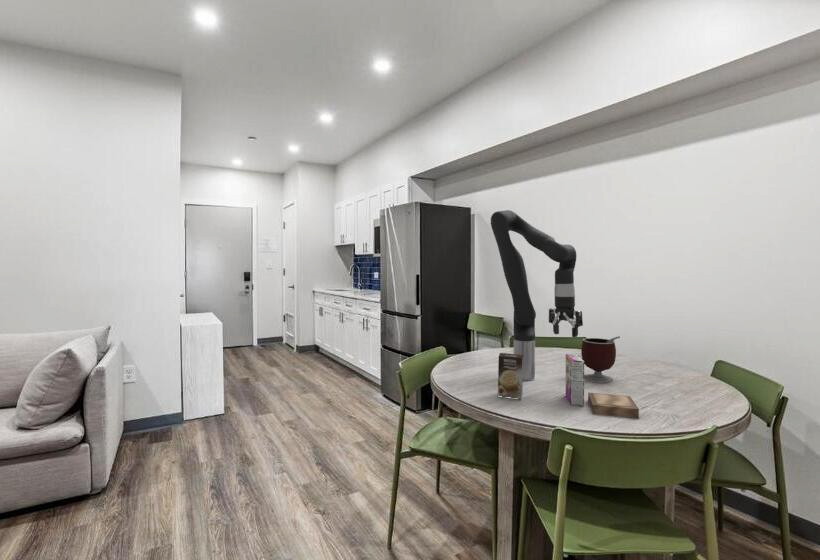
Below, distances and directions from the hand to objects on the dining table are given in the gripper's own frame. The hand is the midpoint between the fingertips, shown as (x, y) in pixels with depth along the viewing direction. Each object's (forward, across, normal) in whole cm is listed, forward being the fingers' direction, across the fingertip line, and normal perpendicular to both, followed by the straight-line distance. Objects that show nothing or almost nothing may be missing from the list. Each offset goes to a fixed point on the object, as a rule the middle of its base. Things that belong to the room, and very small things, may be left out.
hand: (565, 335), depth 164 cm
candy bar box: (+22, +9, -8) cm, 25 cm away
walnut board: (+23, +22, -4) cm, 31 cm away
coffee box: (+22, -7, -24) cm, 33 cm away
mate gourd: (+24, -3, +26) cm, 35 cm away
